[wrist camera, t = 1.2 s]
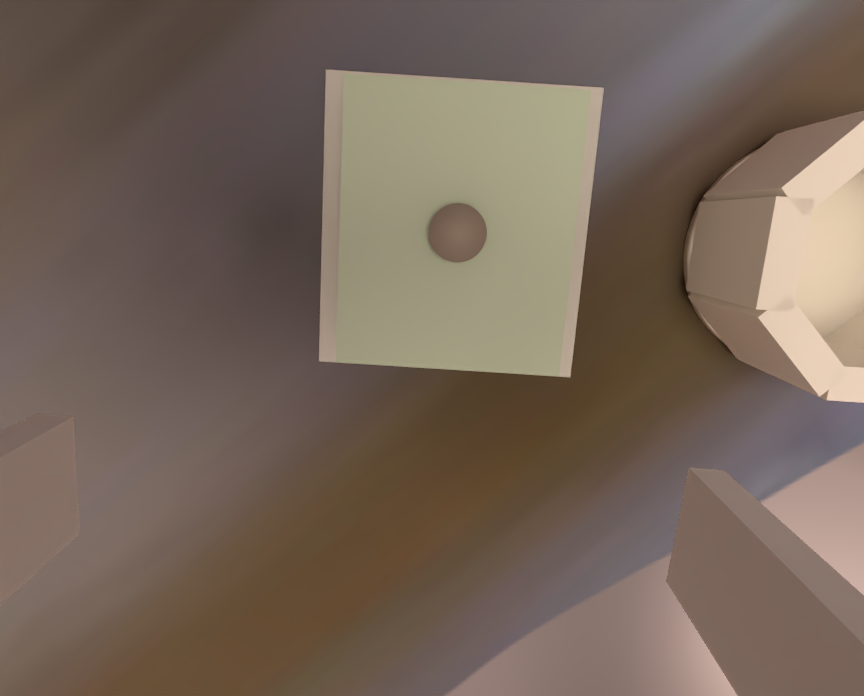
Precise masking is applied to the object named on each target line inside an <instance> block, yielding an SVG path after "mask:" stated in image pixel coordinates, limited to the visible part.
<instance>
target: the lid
mask: <svg viewBox="0 0 864 696" xmlns="http://www.w3.org/2000/svg"><path fill="white" fill-rule="evenodd" d="M590 95H591V90H587V89H572V88H556V87H541V86H526V85H511V84H496V83H480V82H465V81H450V80H435V79H420V78H404V77H389V76H374V75H359V74H344V93H343V127H342V160H341V194H340V228H339V261H338V295H337V328H336V362H339V363H355V364H370V365H386V366H402V367H418V368H433V369H449V370H465V371H481V372H497V373H512V374H528V375H544V376H559V372H560V364H561V355H562V346H563V337H564V328H565V319H566V310H567V301H568V292H569V283H570V274H571V265H572V256H573V247H574V238H575V229H576V220H577V211H578V203H579V194H580V185H581V176H582V167H583V158H584V149H585V140H586V131H587V122H588V113H589V104H590Z"/></svg>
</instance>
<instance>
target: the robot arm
mask: <svg viewBox="0 0 864 696" xmlns="http://www.w3.org/2000/svg"><path fill="white" fill-rule="evenodd" d="M79 534H80V527H79V508H78V489H77V470H76V452H75V433H74V416H65V415H53V414H41V413H37V414H35V415H33V416H31V417H29V418H27V419H25V420H23V421H21V422H19V423H17V424H15V425H13V426H11V427H9V428H7V429H5V430H3V431H1V432H0V605H2V604H3V603H4V602H5V601H6V600H7V599H8V598H9V597H10V596H11V595H13V594H14V593H15V592H16V591H17V590H18V589H19V588H20V587H21V586H23V585H24V584H25V583H26V582H27V581H28V580H29V579H30V578H31V577H32V576H34V575H35V574H36V573H37V572H38V571H39V570H40V569H41V568H42V567H44V566H45V565H46V564H47V563H48V562H49V561H50V560H51V559H52V558H54V557H55V556H56V555H57V554H58V553H59V552H60V551H61V550H62V549H63V548H65V547H66V546H67V545H68V544H69V543H70V542H71V541H72V540H73V539H75V538H76V537H77V536H78V535H79ZM666 581H667V583H668V585H669V586H670V588H671V589H672V591H673V592H674V594H675V596H676V597H677V599H678V601H679V602H680V604H681V605H682V607H683V609H684V610H685V612H686V613H687V615H688V617H689V618H690V620H691V622H692V623H693V624H694V626H695V628H696V630H697V631H698V633H699V634H700V636H701V637H702V639H703V641H704V642H705V644H706V646H707V647H708V649H709V650H710V652H711V654H712V655H713V656H714V658H715V660H716V662H717V663H718V665H719V666H720V668H721V670H722V671H723V673H724V674H725V676H726V678H727V679H728V681H729V682H730V684H731V686H732V687H733V689H734V690H735V692H736V693H737V695H738V696H864V596H863V595H862V594H861V593H860V592H859V591H858V590H857V589H856V588H855V587H853V586H852V585H851V584H850V583H849V582H848V581H847V580H846V579H844V578H843V577H842V576H841V575H840V574H839V573H838V572H837V571H836V570H834V569H833V568H832V567H831V566H830V565H829V564H828V563H827V562H826V561H824V560H823V559H822V558H821V557H820V556H819V555H818V554H817V553H816V552H814V551H813V550H812V549H811V548H810V547H809V546H808V545H807V544H805V543H804V542H803V541H802V540H801V539H800V538H799V537H798V536H796V534H794V533H793V532H792V531H791V530H790V529H789V528H788V527H787V526H785V525H784V524H783V523H782V522H781V521H780V520H778V518H776V517H775V516H774V515H773V514H772V513H771V512H770V511H769V510H768V509H767V508H765V507H764V506H763V505H762V504H761V503H760V502H759V501H758V500H756V499H755V498H754V497H753V496H752V495H751V494H750V493H749V492H748V491H746V490H745V489H744V488H743V487H742V486H741V485H740V484H739V483H738V482H736V481H735V480H734V479H733V478H732V477H731V476H730V475H729V474H727V473H726V472H725V471H724V470H712V469H700V468H689V469H688V474H687V479H686V484H685V489H684V494H683V499H682V504H681V509H680V514H679V519H678V524H677V530H676V535H675V540H674V545H673V550H672V555H671V560H670V565H669V570H668V575H667V580H666Z"/></svg>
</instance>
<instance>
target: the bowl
mask: <svg viewBox="0 0 864 696" xmlns="http://www.w3.org/2000/svg"><path fill="white" fill-rule="evenodd" d="M683 274H684V280H685V286H686V290H687V293H688V298H689V299H690V302H691V304H692V306H693V308H694V310H695V312H696V314H697V316H698V317H699V318H700V320H701V321H702V323H703V324H704V325H705V327H706V328H707V329H708V330H709V331H710V332H711V333H712V334H713V335H714V336H715V337H717V338H718V339H719V340H720V341H721V342H723V343H724V344H726V345H727V347H728V348H729V349H730V350H731V352H732V353H733V354H734V355H735V357H736V358H737V359H738V360H740V361H743V362H744V363H746V364H748V365H751V366H753V367H755V368H757V369H759V370H762V371H764V372H766V373H768V374H770V375H773V376H775V377H777V378H779V379H781V380H783V381H786V382H788V383H790V384H792V385H794V386H797V387H799V388H801V389H803V390H805V391H808V392H810V393H812V394H814V395H816V396H818V397H821V398H823V399H825V400H831V401H847V402H863V403H864V111H860V112H856V113H853V114H849V115H845V116H841V117H837V118H833V119H830V120H826V121H822V122H818V123H814V124H811V125H807V126H803V127H799V128H795V129H791V130H788V131H784V132H782V133H778V134H776V135H775V136H774V137H773V138H772V139H770V140H769V141H768V142H767V143H766V144H764V145H763V146H762V147H761V148H759V149H756V150H755V151H753V152H751V153H749V154H748V155H746V156H744V157H742V158H741V159H740V160H738V161H737V162H736V163H734V164H733V165H731V166H730V167H729V168H728V169H727V170H726V171H725V172H724V173H723V174H721V175H720V176H719V177H718V178H717V180H716V181H715V182H714V183H713V184H712V186H711V187H710V188H709V189H708V190H707V192H706V193H705V195H703V198H702V200H701V201H700V202H699V204H698V207H697V209H696V211H695V213H694V215H693V217H692V219H691V222H690V225H689V228H688V231H687V235H686V240H685V244H684V253H683Z"/></svg>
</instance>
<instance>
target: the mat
mask: <svg viewBox="0 0 864 696" xmlns="http://www.w3.org/2000/svg"><path fill="white" fill-rule="evenodd" d="M344 74H359V75H374V76H389V77H404V78H420V79H435V80H450V81H465V82H480V83H496V84H511V85H526V86H541V87H556V88H572V89H587V90H591V95H590V104H589V113H588V122H587V131H586V140H585V149H584V158H583V167H582V176H581V185H580V194H579V203H578V211H577V220H576V229H575V238H574V247H573V256H572V265H571V274H570V283H569V292H568V301H567V310H566V319H565V328H564V337H563V346H562V355H561V364H560V372H559V377H570V375H571V367H572V358H573V349H574V341H575V332H576V324H577V315H578V306H579V298H580V289H581V280H582V272H583V263H584V255H585V246H586V237H587V229H588V220H589V211H590V203H591V194H592V186H593V177H594V168H595V160H596V151H597V142H598V134H599V125H600V117H601V108H602V99H603V91H604V88H599V87H584V86H569V85H553V84H538V83H523V82H508V81H493V80H477V79H462V78H447V77H432V76H417V75H401V74H386V73H371V72H356V71H341V70H326V86H325V128H324V170H323V212H322V254H321V296H320V338H319V361H323V362H336V328H337V295H338V261H339V228H340V194H341V160H342V127H343V93H344ZM354 364H355V363H354ZM417 368H418V367H417ZM496 373H497V372H496Z"/></svg>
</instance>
